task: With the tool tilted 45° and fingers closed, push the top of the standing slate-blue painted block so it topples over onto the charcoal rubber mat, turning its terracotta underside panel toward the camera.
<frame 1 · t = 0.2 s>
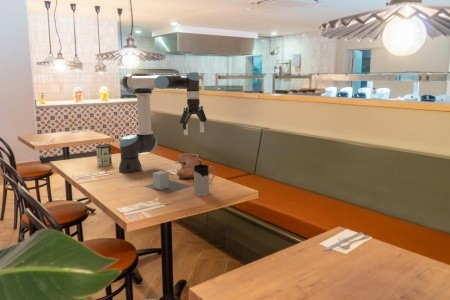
hand: (194, 133, 230), 28 cm above the table, tool pointing down, fingers open, 13 cm apart
coffee can: (104, 164, 275), on the table
ceramic jug: (189, 177, 237), on the table
block: (161, 188, 212), resting on mat
mat: (167, 186, 216), on the table
tall grey mug: (205, 192, 205), on the table
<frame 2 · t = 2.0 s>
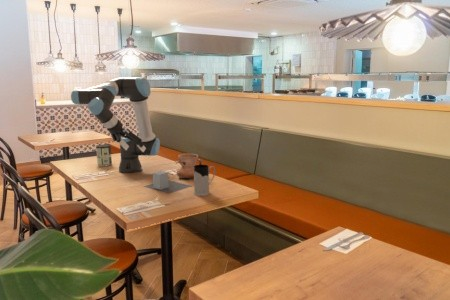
hand: (135, 149, 207), 23 cm above the table, tool tilted 45°, fingers open, 13 cm apart
nothing on the table moved.
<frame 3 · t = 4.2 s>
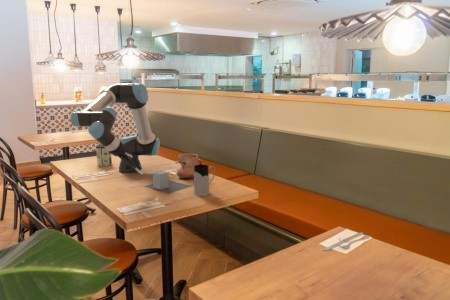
hand: (143, 172, 205), 11 cm above the table, tool tilted 45°, fingers closed
nothing on the table moved.
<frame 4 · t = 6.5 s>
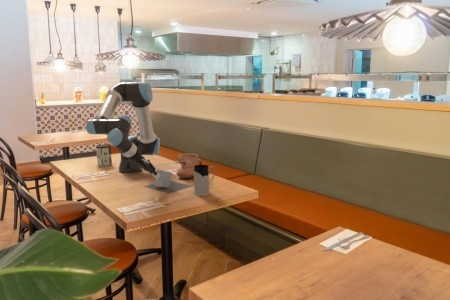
hand: (158, 177, 209), 7 cm above the table, tool tilted 45°, fingers closed
block: (161, 186, 212), point 1 cm above the table, tilted 19°, touching gripper, mat
everything else where it was.
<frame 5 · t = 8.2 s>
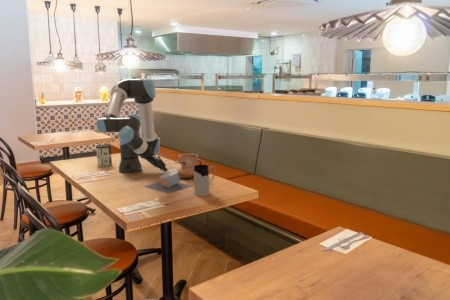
hand: (168, 173, 215), 8 cm above the table, tool tilted 45°, fingers closed
block: (163, 182, 213), point 3 cm above the table, tilted 79°, touching gripper, mat
everything else where it was.
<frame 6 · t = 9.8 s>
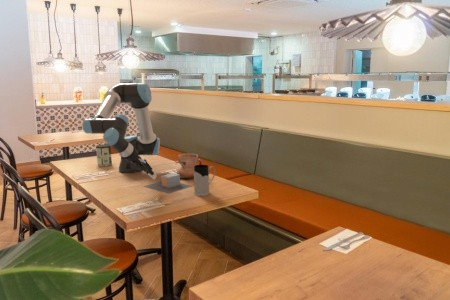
hand: (155, 177, 208), 8 cm above the table, tool tilted 45°, fingers closed
block: (164, 181, 214), point 3 cm above the table, tilted 90°, touching mat
everything else where it was.
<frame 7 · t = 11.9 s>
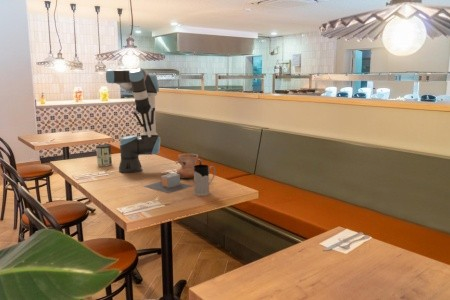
hand: (149, 136, 221), 28 cm above the table, tool tilted 15°, fingers closed
nothing on the table moved.
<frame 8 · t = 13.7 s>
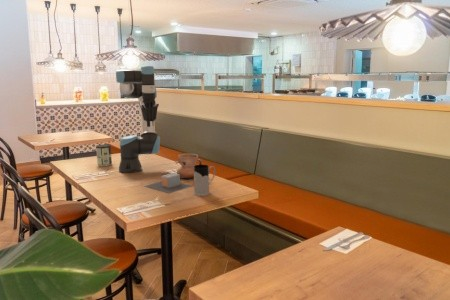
hand: (150, 131, 229), 29 cm above the table, tool pointing down, fingers closed
nothing on the table moved.
at the end: block tilted 90°; block inside the target area (3.2 cm from its centre), point 3.4 cm above the table; the gripper is holding nothing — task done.
